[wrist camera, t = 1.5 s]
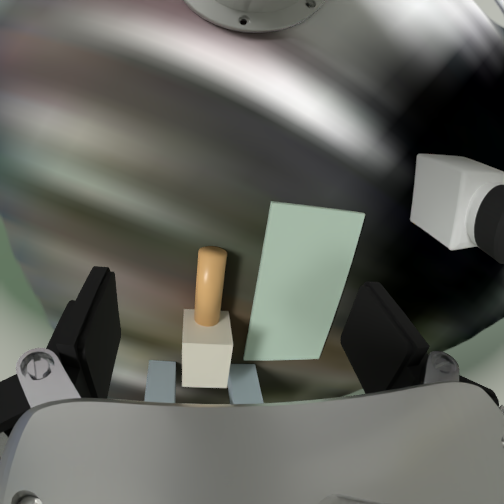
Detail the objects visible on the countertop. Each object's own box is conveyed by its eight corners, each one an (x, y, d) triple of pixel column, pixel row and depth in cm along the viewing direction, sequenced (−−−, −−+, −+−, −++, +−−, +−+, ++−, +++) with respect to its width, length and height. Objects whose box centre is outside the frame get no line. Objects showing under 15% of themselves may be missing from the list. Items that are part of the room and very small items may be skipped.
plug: (187, 243, 28) (184, 272, 23) (237, 247, 28) (243, 275, 24) (183, 357, 33) (182, 392, 29) (222, 359, 34) (225, 393, 30)
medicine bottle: (408, 221, 30) (485, 280, 19) (415, 152, 27) (507, 190, 16) (455, 217, 30) (529, 267, 20) (463, 156, 27) (549, 191, 17)
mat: (270, 201, 27) (271, 202, 26) (363, 212, 29) (365, 214, 28) (243, 357, 34) (243, 360, 34) (317, 356, 36) (318, 358, 36)
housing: (149, 359, 33) (143, 415, 26) (254, 363, 35) (266, 418, 28) (150, 374, 34) (145, 428, 27) (251, 377, 36) (262, 430, 29)
